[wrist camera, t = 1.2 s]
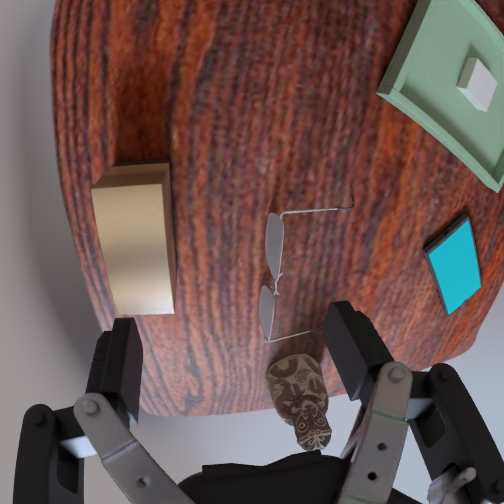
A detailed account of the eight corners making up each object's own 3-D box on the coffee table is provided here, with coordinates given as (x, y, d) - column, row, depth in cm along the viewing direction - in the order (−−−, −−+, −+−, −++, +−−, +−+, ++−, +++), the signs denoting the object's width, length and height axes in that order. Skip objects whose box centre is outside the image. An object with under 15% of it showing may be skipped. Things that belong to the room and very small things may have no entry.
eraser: (114, 162, 22) (90, 188, 17) (170, 158, 22) (161, 183, 17) (129, 270, 27) (117, 315, 22) (177, 268, 27) (175, 314, 22)
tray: (429, -28, 15) (443, -31, 13) (526, 86, 22) (538, 90, 20) (375, 92, 22) (388, 95, 20) (486, 186, 28) (498, 193, 26)
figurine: (324, 350, 37) (357, 430, 27) (312, 383, 41) (338, 455, 30) (268, 356, 36) (292, 445, 26) (262, 389, 39) (281, 467, 29)
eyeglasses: (268, 197, 25) (284, 217, 22) (352, 196, 27) (375, 215, 24) (256, 323, 32) (266, 350, 29) (325, 313, 34) (339, 337, 31)
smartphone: (469, 215, 29) (482, 286, 36) (464, 212, 29) (479, 283, 37) (425, 254, 30) (447, 317, 38) (421, 250, 31) (444, 313, 38)
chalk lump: (467, 56, 19) (478, 57, 18) (487, 80, 21) (497, 82, 20) (455, 86, 21) (466, 88, 20) (476, 109, 23) (486, 112, 21)
